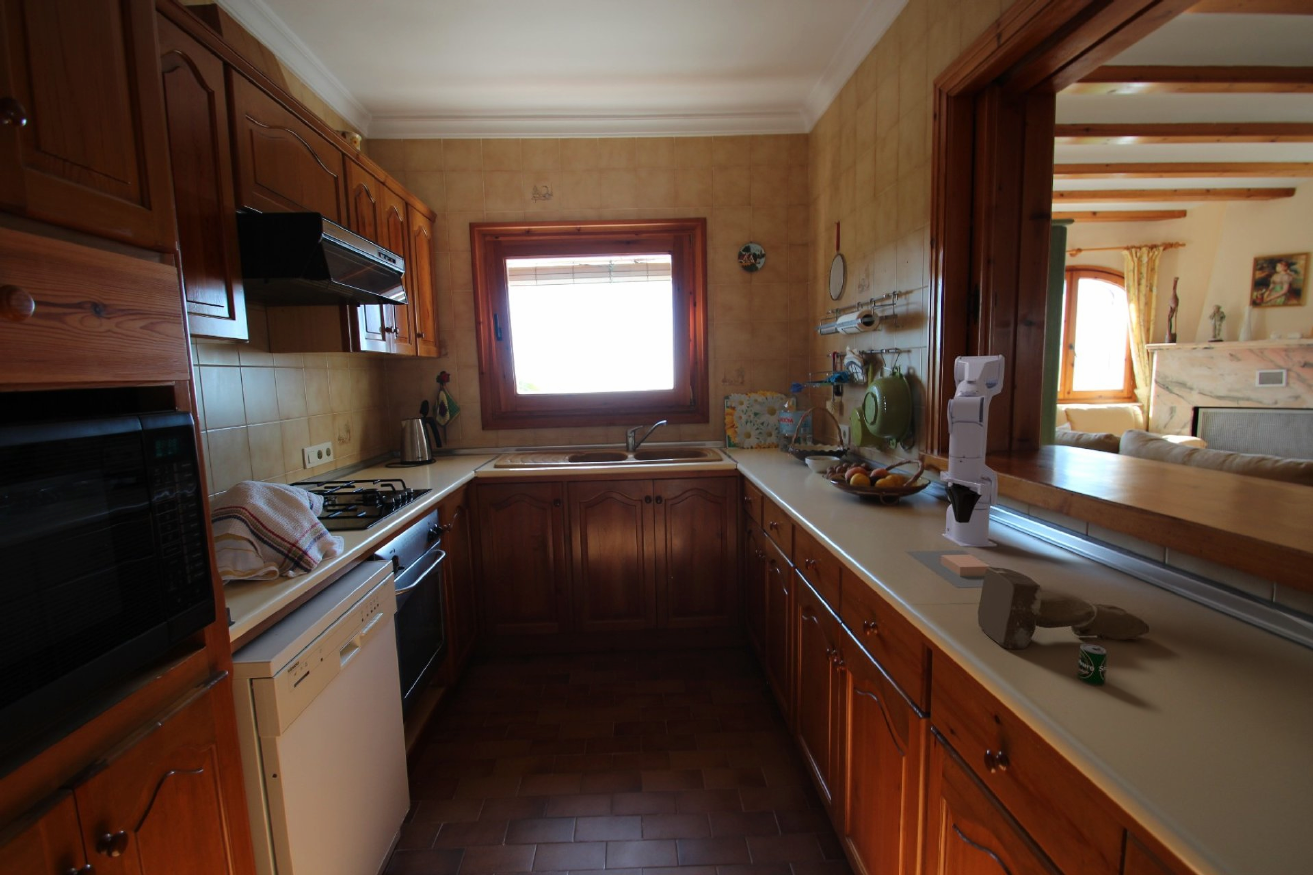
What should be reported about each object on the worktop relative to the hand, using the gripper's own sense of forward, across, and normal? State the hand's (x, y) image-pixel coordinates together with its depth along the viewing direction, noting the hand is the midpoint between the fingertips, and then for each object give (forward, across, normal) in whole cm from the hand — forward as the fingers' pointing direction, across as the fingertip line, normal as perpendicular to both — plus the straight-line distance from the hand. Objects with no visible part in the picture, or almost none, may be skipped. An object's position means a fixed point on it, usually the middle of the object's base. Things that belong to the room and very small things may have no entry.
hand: (962, 521), depth 110 cm
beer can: (+10, +41, -6) cm, 43 cm away
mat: (+10, 0, 0) cm, 10 cm away
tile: (+8, -2, 0) cm, 9 cm away
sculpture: (+10, +30, -1) cm, 31 cm away
